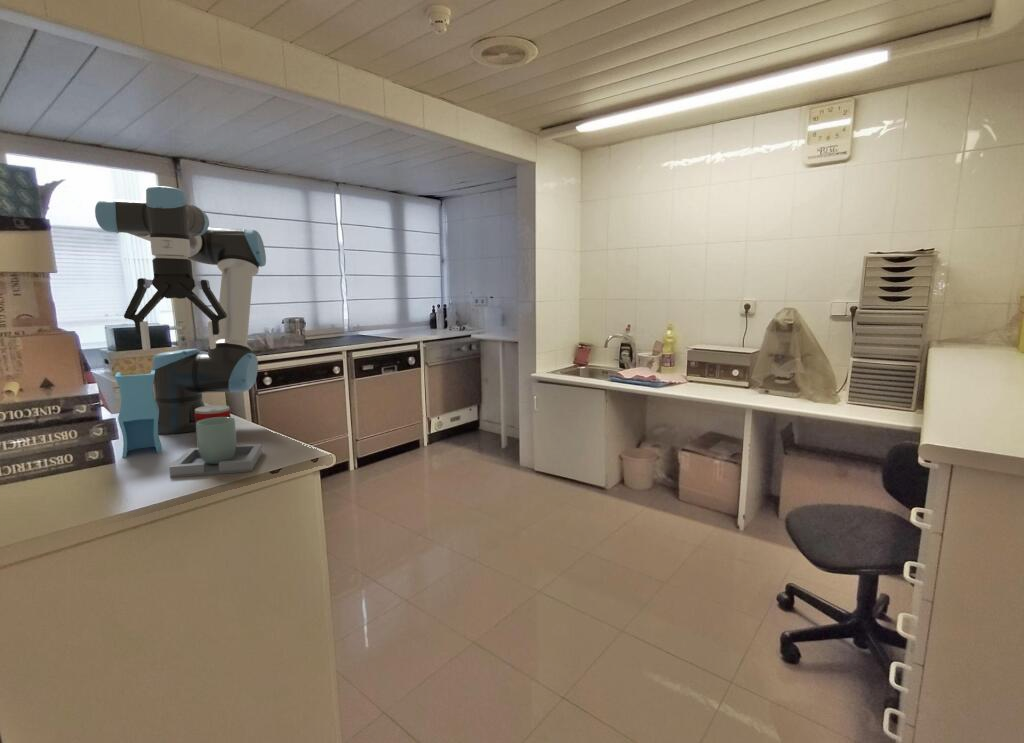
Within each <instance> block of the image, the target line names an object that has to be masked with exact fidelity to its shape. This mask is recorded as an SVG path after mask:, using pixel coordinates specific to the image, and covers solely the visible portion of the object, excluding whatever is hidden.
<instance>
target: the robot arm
mask: <svg viewBox="0 0 1024 743" xmlns="http://www.w3.org/2000/svg"><path fill="white" fill-rule="evenodd" d="M94 216H95V220H96V222H97V224H98V226H99V227H100V229H102V230H103V231H106V232H108V233H109V232H110V233H116V234H119V233H125V234H129V235H132V236H135V237H137V238H141V239H143V240H145V241H148V242H150V249H151V255H152V256H154V257H153V258H152V270H153V278H152V279H147V278H145V277H141V278H137V282H136V290H135V292H134V293H133V296H132V298H131V299H130V302H129V304H128V306H127V308H126V310H125V312H124V314H123V318H124V319H126V320H129V321H130V320H131V321H133V322H134V328H135V334H136V336H141V339H140V340H141V347H142V351H147V350H151V340H150V339H151V338H150V330H149V321H147V320H145V319H146V317H147V316H149V315H150V313H151V312H152V311H153V310H154V309H155V307H156V306H157V305H158V304H159V303H160V302H161V300H163V299H164V298H165V299H181V300H182V299H183V300H184V299H186V298H187V299H188V300H189V301H190V302H192V304H194V305H195V306H196V308H198V309H199V310H200V311H201V312H202V313H203V314H204V315H205V316H206V317H208V319H209V320H210V321H207V328H208V329H207V331H208V341H209V345H208V349H207V353H201V352H200V350H199V349H198V348H188V349H187V348H186V349H179V350H172V351H166V352H160V353H157V354H155V355H154V356H153V357H152V364H151V365H152V367H151V368H152V369H151V371H152V370H155V375H154V382H153V392H154V397H155V400H156V403H157V405H158V408H159V418H158V435H159V434H161V435H164V434H165V435H167V434H168V435H171V434H173V435H174V434H183V433H190V432H196V423H195V409H196V408H199V407H203V406H206V405H205V402H204V400H203V394H204V393H206V394H207V393H232V394H234V393H241V392H242V393H244V392H248V391H249V390H251V389H252V387H253V386H254V385H255V384H256V379H257V377H258V370H259V366H258V364H259V361H258V357H257V355H256V354H255V353H253V349H252V348H251V346H250V345H248V338H249V337H248V336H249V327H250V325H249V324H250V313H251V311H250V310H251V300H252V292H253V291H252V289H253V277H255V276H256V275H258V273H259V269H260V268H262V267H264V266H266V263H267V257H266V256H267V255H266V250H265V249H266V248H265V245H264V242H263V239H262V236H261V235H260V233H259V232H258V231H257V230H255V229H247V228H244V227H243V228H227V227H226V228H225V227H210V220H209V217H208V215H207V214H206V212H205V211H203V209H201V208H200V207H198V206H197V205H194V204H189V203H188V200H187V196H186V193H185V191H184V190H182V189H180V188H176V187H171V186H163V185H161V186H159V185H151V186H148V187H147V188H146V190H145V200H144V201H143V200H140V201H139V200H127V199H124V200H123V199H116V198H114V199H101V200H99V201H98V202H96V205H95V208H94ZM192 261H193V262H197V263H200V264H206V265H212V266H214V265H215V266H217V269H218V270H220V272H221V280H220V290H219V299H218V298H217V297H216V296H215V294H214V292H213V291H212V289H211V286H210V285H211V284H210V281H209V280H208V279H201V280H195V279H194V275H193V265H192V263H193V262H192ZM259 267H260V268H259ZM151 286H153V287H154V288H155V289H156V290H157V291H155V292H154V294H153V295H152V297H151V298H150V299H149V300H148V301H147V303H146V304H145V305H144V306H143V307H141V309H140V310H139V311H138V309H139V308H140V305H141V302H142V301H143V299H144V297H145V295H146V293H147V290H148V289H150V288H151ZM196 286H197V287H198V288H199V290H202V292H203V294H204V295H205V298H207V300H208V301H209V303H210V305H211V307H212V308H213V309H214V311H215V312H216V313H215V312H214V311H213V310H212V309H211V308H210V307H208V305H206V304H205V303H204V302H203V300H201V299H200V298H199V297H198V295H197V294H196V293H195V292H194V291H193V290H194V289H195V287H196ZM137 311H138V313H137ZM136 313H137V314H136Z"/></svg>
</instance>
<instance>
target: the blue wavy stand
mask: <svg viewBox="0 0 1024 743" xmlns="http://www.w3.org/2000/svg"><path fill="white" fill-rule="evenodd" d="M154 375H155V370H152V369H151V371H150V373H146V374H145V373H144V374H131V375H130V374H129V375H127V374H126V375H122V372H121V371H118V372H116V373H115V375H114V377H115V380H116V383H117V385H118V388H119V393H120V408H119V414H118V416H117V420H118V424H119V428H120V431H121V435H122V440H123V448H122V456H121V458H123V459H124V458H127V455H128V452H129V451H133V450H137V449H147V448H155V449H156V453H157V454H160V453H161V454H162V452H163V451H162V449H163V446H162V443H161V439H160V435H159V433H158V418H159V408H158V405H157V403H156V400H155V391H154Z"/></svg>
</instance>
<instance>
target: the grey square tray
mask: <svg viewBox="0 0 1024 743" xmlns="http://www.w3.org/2000/svg"><path fill="white" fill-rule="evenodd" d="M262 455H263V444H262V443H255V444H252V443H251V444H238V445H237V444H236V452H235V455H234V457H233V458H232V459H231V460H230V461H220V462H219V464H214V465H213V464H207V463H205V462H204V461H203V460H202V459H201V457H200V454H199V450H198V447H191V448H189V449H187V450H186V451H185V452H184V453H183V454H182V455H181V456H180V457H179V458H177V459H176V461H174V462H173V463H172V464H171V465H170V466H169V477H170V478H181V477H182V478H183V477H184V478H185V477H194V476H196V477H197V476H205V475H206V476H209V475H210V476H211V475H221V474H222V475H223V474H233V473H234V474H235V473H236V474H237V473H247V472H253V469H254V468H255V466H256V464H257V463H258V462H259V459H260V458H261V456H262Z"/></svg>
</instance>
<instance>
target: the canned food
mask: <svg viewBox="0 0 1024 743" xmlns="http://www.w3.org/2000/svg"><path fill="white" fill-rule="evenodd" d="M214 417H231V408H230V406H229V405H224V404H212V405H205V406H203V407H199V408H196V409H195V423H196V422H197V421H199V420H203V419H207V418H214ZM195 432H196V431H195ZM196 436H197V432H196ZM196 445H197V446H196V448H198V443H197V442H196Z"/></svg>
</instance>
